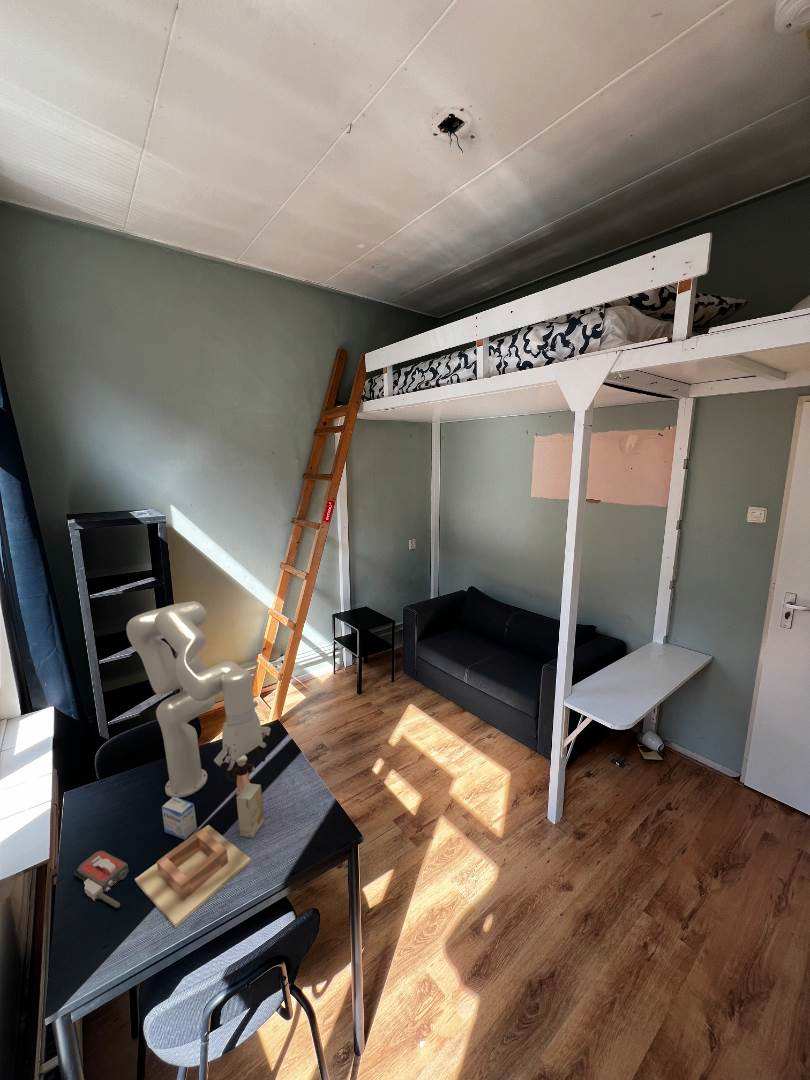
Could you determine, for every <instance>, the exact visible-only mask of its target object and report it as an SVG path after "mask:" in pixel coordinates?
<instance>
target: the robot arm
mask: <svg viewBox="0 0 810 1080" xmlns="http://www.w3.org/2000/svg"><path fill="white" fill-rule="evenodd" d="M207 619H208V613H207V610H206V609H205V606H203V604H201V603H200V602H197V601H194V600H193V601H192V600H191V601H185V602H178V603H175V604H170V605H167V606H164V607H161V608H156V609H153V610H149V611H146V612H143V613H140V614H137V615H135V616H134V617H132V618H130V620H129V621H128V622H127V624H126V635H127V638H128V641H129V642H130V644H131V646H132V647H133V649H134V650H135V651H136V652H137V653H138V655H139V656H140V658H141V661H142V664H143V666H144V669H145V672H146V674H147V677H148V681H149V684H150V685H151V688H152V690H153V691H154V693H155V694H157V695H159V696H161V695H162V696H163V695H166V694H169V693H172V692H174V691H176V690H178V689H180V688H182V689H183V691H181V692H178V693H176V694H174V695H172V696H170V697H168V698H166V699H164V700H162V701H161V702H160V704H158V705H157V708H156V711H155V712H156V713H155V715H156V719H157V721H158V724H159V726H160V730H161V733H162V738H163V745H164V752H165V759H166V764H167V772H168V778H169V780H168V781H167V782H166V783H165V787H164V790H165V794H166V795H167V797H170V798H173V797H177V798H179V799H181V798H183V797H188V796H190V795H192V794H195V793H196V792H198V791H199V790H200V789H202V788H204V786H205V784H206V783H207V781H208V773H207V771H206V770H205V769H203V768H202V763H201V757H200V755H201V754H200V749H199V741H198V734H197V733H198V732H197V731H196V728H195V727H194V726H192V725H190V724H189V722H190V721H191V720H194V719H195V718H197V717H198V716H201V715H203V714H205V713H207V712H208V711H210V710H211V709H213V708H214V705H215V702H216V697H215V696H217V695H219V694H221V693H222V696H223V706H224V712H225V713H224V714H225V722H223V726H222V734H221V736H222V737H221V738H222V739H221V740H222V749H221V751H220V752H219V753H218V754H217V756H216V757H215V758H214V759H213V762H214V763H215V764H216V765H217V766H218V767H220V768H221V769H223V770H224V771H225V773H224V774H225V777H226V780H227V781H228V780H229V781H230V782H232V783H235V782H237V775H235V768H234V765H235V763H236V760H237V759H239V758H240V757H242V756H244V755H245V756H246V755H247V754H249V752H251V751H253V750H255V754H256V759H257V760H259V761H261V762H263V763H264V762H265V761H266V747H267V742H268V740H269V739H270V734H271V727H269V726H262V725H261V722H260V721H261V720H260V718H259V715H258V712H256V707H257V706H258V704H259V703H258V702H257V701H255V700H254V691H253V690H254V689H253V682H252V681H253V680H252V674H251V673H250V672H251V671H249V670H248V669H247V668H242V667H240V666H239V664H238V663H237V662H234V661H233V660H226V661H222V662H220V663H218V664H216V665H213V666H211V667H208V668H207V669H205V666H204V664H203V662H202V660H201V659H200V657H198V656H197V655H198V654H199V653H201V651H202V650H203V649H204V647H205V645H206V642H207V638H206V636H205V634H204V633H203V632H202V630H200V628H198V627H201V626H203V625H204V624H205V623H206V622H207ZM160 636H162V637H163V638H164V640H166V642H165V641H164V640H162V639H160V638H158V637H160ZM167 643H168V644H167ZM172 649H173V650H174V651H175V652H176V653H177V657H176V658H175V657H174V654H173V651H172ZM224 758H225V759H224ZM223 759H224V761H223Z"/></svg>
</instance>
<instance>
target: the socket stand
mask: <svg viewBox="0 0 810 1080" xmlns="http://www.w3.org/2000/svg"><path fill="white" fill-rule="evenodd" d="M251 862H252V859H251V857H249V856H248V855H247V854H246V853H244V852H243V851H241V849H239V848H238V847H237V846H236V845H234V844H233V843H232V842H230V841H229V840H228V839H227V838H226V837H224V836H223V835H222V834H220V833H219V832H218V831H217V830H215V828H213V827H212V826H211V825H209V824H208V825H206V826H204V827H203V828H200V829H199V830H197V831H196V832H194V834H191V835H190V836H188V837H187V838H186V839H185V840H184V841H182V842H181V843H180V844H178V846H176V847H174V848H173V849H172V850H170V851H168V852H167V853H166V854H165V855H163V856H162V857H161V858H160V859H158V860H157V861H156V863H155V864H153V865H152V866H150V867H149V868H148V869H146V870H145V871H144V872H142V873H141V874H140V875H139V876H137V877H135V878H134V882H136V883H135V884H136V885H137V886H138V887H139V888H140V889H141V890H142V892H143V893H144V894H145V896H146V897H148V898H149V899H150V901H151V902H152V903H153V904H154V906H156V908H157V909H159V911H160V912H161V913H162V914H163V916H164V917H166V918H167V920H168V921H169V922H170V923H171V924H172V926H174V928H175V929H177V928H178V927H179V926H180V925H181V924H182V923H183V922H185V921H186V920H187V919H188V918H189V917H190V916H191V915H193V914H194V912H196V911H197V910H198V909H199V908H200V907H202V906H203V905H204V904H205V903H206V902H208V900H209V899H211V898H212V897H213V896H214V895H215V894H216V893H217V892H219V891H220V890H221V889H222V888H223V887H225V885H226V884H228V883H229V882H230V881H231V880H233V878H235V876H237V875H238V874H239V873H240V872H241V871H242V870H244V869H245V868H246V867H247V866H248V865H249V864H251Z"/></svg>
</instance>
